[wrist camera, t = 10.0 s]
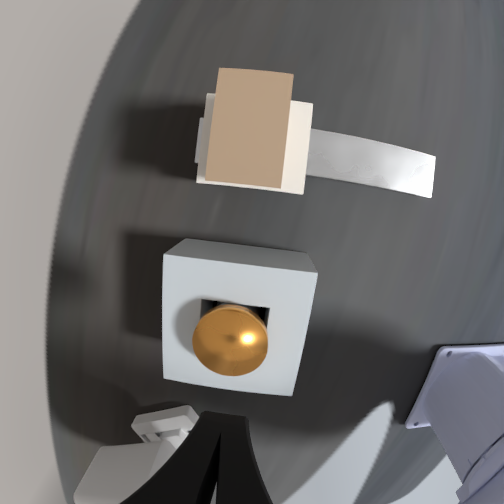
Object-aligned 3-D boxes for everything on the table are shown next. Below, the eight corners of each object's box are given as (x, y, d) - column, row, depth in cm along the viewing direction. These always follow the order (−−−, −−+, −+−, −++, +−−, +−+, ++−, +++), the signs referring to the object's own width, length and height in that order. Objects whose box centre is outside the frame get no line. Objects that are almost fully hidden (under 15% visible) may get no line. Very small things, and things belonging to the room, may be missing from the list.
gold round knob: (271, 283, 17) (272, 316, 13) (263, 336, 18) (262, 380, 14) (211, 275, 17) (193, 306, 13) (207, 329, 18) (191, 370, 14)
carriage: (306, 114, 15) (330, 75, 9) (297, 192, 16) (317, 199, 10) (215, 105, 15) (185, 62, 9) (206, 182, 16) (168, 183, 10)
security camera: (118, 414, 21) (69, 499, 12) (186, 399, 20) (148, 509, 11) (159, 460, 22) (129, 543, 13) (225, 450, 21) (209, 550, 12)
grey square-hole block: (306, 252, 17) (317, 272, 14) (288, 357, 19) (291, 396, 15) (185, 238, 18) (163, 254, 14) (181, 343, 19) (163, 378, 15)
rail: (423, 157, 16) (435, 156, 14) (419, 196, 16) (431, 197, 15) (205, 122, 16) (200, 117, 15) (200, 164, 17) (194, 162, 15)
